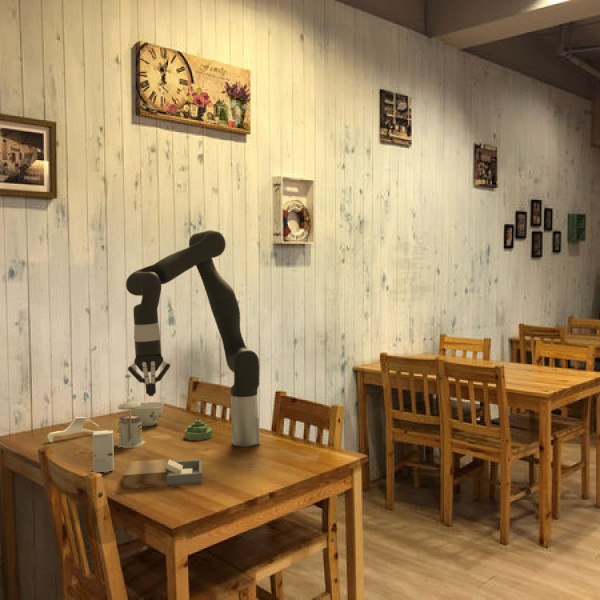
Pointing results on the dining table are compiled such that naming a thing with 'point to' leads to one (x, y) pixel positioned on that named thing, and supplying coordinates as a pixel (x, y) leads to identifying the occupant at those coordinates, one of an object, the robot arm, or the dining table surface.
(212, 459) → the dining table surface
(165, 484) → the board
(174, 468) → the tile
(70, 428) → the white clothes hanger
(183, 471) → the tile
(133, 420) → the french press
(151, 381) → the robot arm
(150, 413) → the teacup
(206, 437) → the decorative artifact
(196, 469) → the tray
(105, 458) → the skincare box
